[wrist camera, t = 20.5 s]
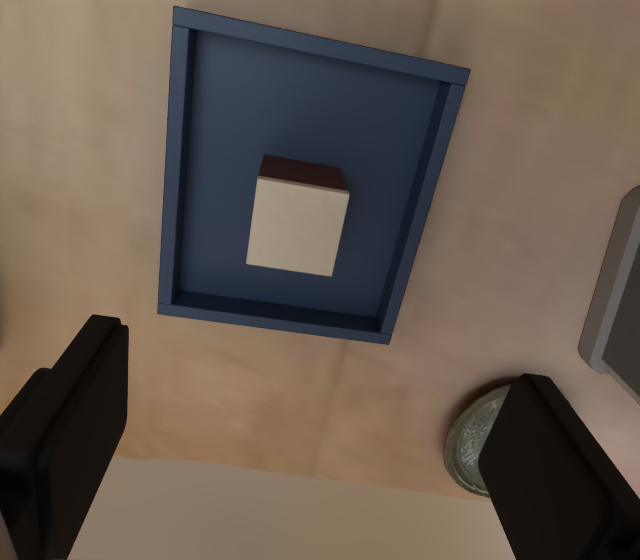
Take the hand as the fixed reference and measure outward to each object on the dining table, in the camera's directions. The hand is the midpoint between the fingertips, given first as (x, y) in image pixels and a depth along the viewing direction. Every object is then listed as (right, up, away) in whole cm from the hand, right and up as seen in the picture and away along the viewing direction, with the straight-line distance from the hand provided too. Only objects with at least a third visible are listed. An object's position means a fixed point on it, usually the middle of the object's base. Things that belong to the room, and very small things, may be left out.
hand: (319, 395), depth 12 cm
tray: (-1, +8, +17) cm, 19 cm away
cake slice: (-1, +8, +17) cm, 19 cm away
